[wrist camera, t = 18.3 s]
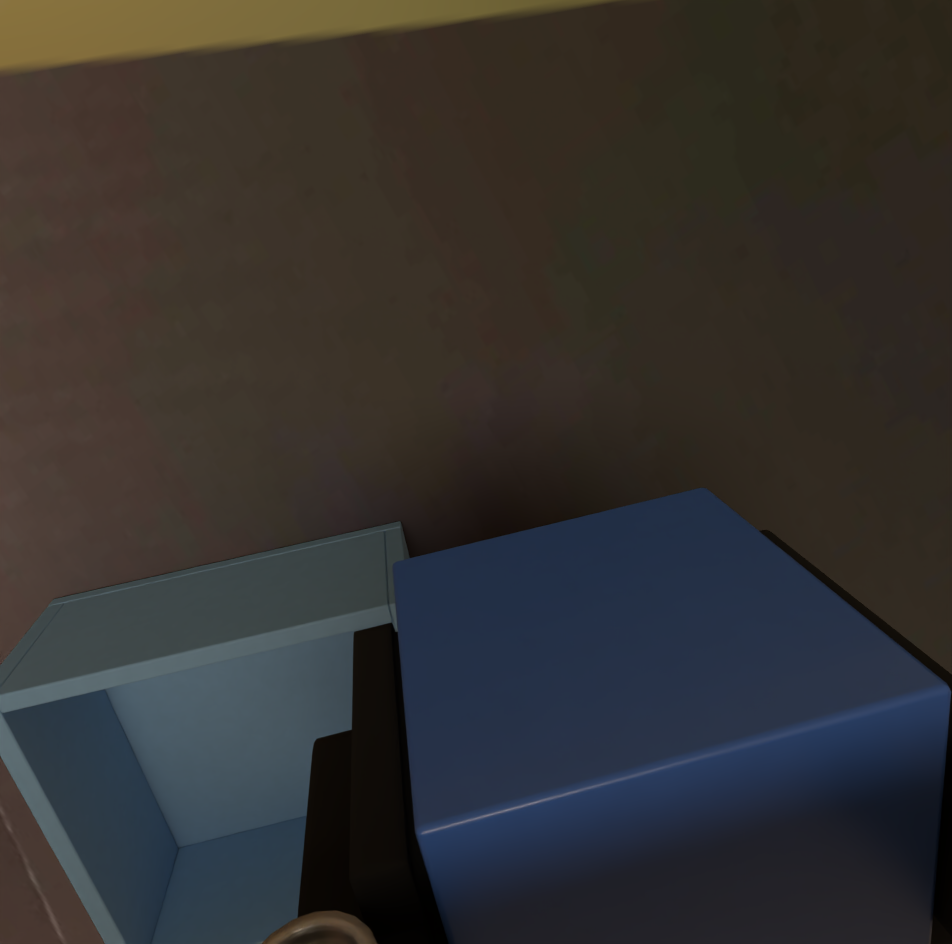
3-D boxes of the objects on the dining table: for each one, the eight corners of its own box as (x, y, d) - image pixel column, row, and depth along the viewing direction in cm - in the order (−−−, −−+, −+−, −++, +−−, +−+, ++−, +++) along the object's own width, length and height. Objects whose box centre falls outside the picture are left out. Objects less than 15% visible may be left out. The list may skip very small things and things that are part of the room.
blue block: (455, 804, 11) (511, 1156, 7) (391, 560, 10) (413, 833, 5) (722, 732, 12) (927, 1028, 7) (704, 484, 10) (956, 685, 6)
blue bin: (171, 851, 29) (129, 989, 24) (52, 598, 24) (-31, 702, 19) (463, 777, 30) (483, 896, 24) (400, 520, 25) (409, 599, 20)
